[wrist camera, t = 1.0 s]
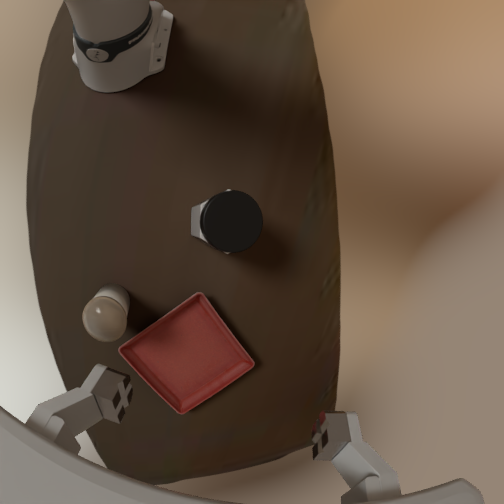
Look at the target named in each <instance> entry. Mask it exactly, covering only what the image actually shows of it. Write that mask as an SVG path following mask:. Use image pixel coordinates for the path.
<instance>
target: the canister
mask: <svg viewBox="0 0 504 504" xmlns="http://www.w3.org/2000/svg"><path fill="white" fill-rule="evenodd" d="M129 307H130V297H129V295H128V293H127V291H126V290H125V289H124V288H123V287H122V286H120V285H118V284H113V283H110V284H106V285H104V286H103V287H102V288H101V289H100V290H99V291H98V293H97V294H96V295H95V297H94V298H93V299H92V300H90V301H89V302H88V304H87V305H86V307H85V309H84V311H83V323H84V326H85V328H86V330H87V331H88V333H89V334H90V335H91V336H92V337H94V338H95V339H97V340H100V341H103V342H111V341H115V340H117V339H118V338H120V337H121V336H122V335H123V333H124V331H125V329H126V325H127V315H128V311H129Z"/></svg>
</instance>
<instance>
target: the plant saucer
mask: <svg viewBox="0 0 504 504" xmlns="http://www.w3.org/2000/svg"><path fill="white" fill-rule="evenodd" d="M118 351H119V353H120V354H121V356H122V357H123V358H124V359H125V360H126V361H127V362H128V363H129V365H130V366H131V367H132V368H133V369H134V370H135V371H136V372H137V373H138V374H139V375H140V376H141V377H142V378H143V379H144V381H145V382H146V383H147V384H148V385H149V386H150V387H151V388H152V389H153V390H154V391H155V392H156V393H157V394H158V395H159V396H160V397H161V398H162V399H164V400H165V401H166V402H167V403H168V404H169V405H170V406H171V407H172V408H173V409H174V410H175V411H176V412H177V413H179V414H184V413H186V412H188V411H189V410H191V409H192V408H194V407H196V406H197V405H199V404H200V403H202V402H203V401H205V400H207V399H208V398H210V397H211V396H213V395H214V394H216V393H217V392H219V391H220V390H222V389H223V388H225V387H226V386H227V385H229V384H230V383H232V382H233V381H235V380H236V379H237V378H239V377H240V376H242V375H243V374H244V373H246V372H247V371H249V370H250V369H251V368H253V367H254V365H255V362H254V361H253V360H252V358H251V357H250V356H249V355H248V353H247V352H246V351H245V349H244V348H243V347H242V345H241V344H240V343H239V342H238V340H237V339H236V338H235V336H234V335H233V334H232V332H231V331H230V330H229V328H228V327H227V326H226V324H225V323H224V322H223V320H222V319H221V318H220V316H219V315H218V313H217V312H216V311H215V309H214V308H213V306H212V305H211V304H210V302H209V301H208V299H207V298H206V296H205V295H204V294H203V293H201V292H197V293H196V294H194V295H193V296H191V297H190V298H188V299H187V300H186V301H184V302H183V303H181V304H180V305H179V306H177V307H176V308H174V309H173V310H172V311H170V312H169V313H167V314H166V315H164V316H163V317H162V318H160V319H159V320H157V321H156V322H154V323H153V324H151V325H150V326H149V327H147V328H146V329H144V330H143V331H142V332H140V333H139V334H137V335H136V336H134V337H133V338H132V339H130V340H129V341H127V342H126V343H124V344H123V345H122V346H120V347H119V349H118Z"/></svg>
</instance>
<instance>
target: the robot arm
mask: <svg viewBox="0 0 504 504" xmlns="http://www.w3.org/2000/svg"><path fill="white" fill-rule="evenodd" d="M64 1H65V3H66V5H67V7H68V9H69V11H70V14H71V17H72V20H73V23H74V24H73V34H74V38H73V44H74V50H75V53H74V55H73V57H72V59H73V62H74V64H75V65H76V66H77V67H78V68H79V70H80V75H81V78H82V80H83V82H84V83H85V84H86V85H87V86H88V87H89V88H91V89H93V90H95V91H99V92H117V91H121V90H124V89H127V88H129V87H131V86H133V85H135V84H137V83H138V82H140V81H141V80H142V79H144V78H145V77H147V76H148V75H152V74H155V73H158V72H160V71H162V70H163V69H164V67H165V61H166V55H167V49H168V43H169V38H170V32H171V27H172V22H173V15H172V14H171V13H169V12H168V11H166V10H164V7H163V5H161V4H160V3H158V2H156V1H154V0H64ZM157 60H160V62H157ZM130 380H131V379H130V375H128V374H125V373H122V372H119V371H117V370H114V369H111V368H109V367H106V366H103V365H101V364H97V365H96V366H95V367H94V368H93V370H92V371H91V373H90V374H89V376H88V377H87V379H86V380H85V382H84V383H83V385H82V386H81V388H78V387H77V388H75V389H73V390H71V391H68V392H66V393H64V394H62V395H59V396H57V397H55V398H53V399H50V400H48V401H45V402H43V403H41V404H38V406H37V407H36V408H35V410H34V411H33V413H32V414H31V416H30V417H29V419H28V420H27V422H26V423H25V424H24V423H23V422H21V421H20V420H18V419H17V418H16V417H14V416H13V415H11V414H10V413H9V412H7V411H6V410H5V409H3V408H2V407H1V406H0V504H240V503H233V502H225V501H219V500H213V499H208V498H202V497H198V496H192V495H188V494H184V493H180V492H175V491H172V490H168V489H165V488H161V487H158V486H154V485H151V484H148V483H145V482H142V481H139V480H136V479H133V478H130V477H128V476H125V475H122V474H120V473H117V472H114V471H112V470H110V469H107V468H104V467H102V466H100V465H98V464H95V463H93V462H91V461H89V460H87V459H85V458H83V457H81V456H78V453H79V451H80V449H81V447H80V445H79V444H78V442H77V441H76V439H75V436H76V435H78V434H80V433H81V432H83V431H85V430H86V429H88V428H89V427H91V426H92V425H94V424H96V423H97V422H99V421H100V420H102V419H103V418H105V419H108V420H111V421H114V422H116V423H119V424H120V423H121V421H122V419H123V417H124V414H125V410H124V407H126V406H128V405H129V404H130V402H131V399H132V395H133V389H132V386H131V385H130V384H129V382H130ZM319 418H320V419H318V420H316V421H315V423H314V425H313V428H312V440H313V441H314V443H315V445H314V447H313V448H312V449H313V460H329V461H330V460H331V462H332V463H333V465H334V466H335V468H336V469H337V470H338V472H339V473H340V474H341V476H342V477H343V479H344V480H345V481H346V483H347V484H348V485H349V487H350V488H351V490H349V491H348V492H346V493H345V494H344V495H342V496H341V504H484V500H483V497H482V494H481V492H480V491H479V490H478V489H477V488H476V487H475V486H473V485H472V484H471V483H470V482H468V481H467V480H465V479H463V478H459V479H455V480H453V481H450V482H447V483H444V484H441V485H438V486H435V487H431V488H428V489H424V490H421V491H417V492H413V493H409V494H405V495H401V490H400V485H399V480H398V476H397V472H396V471H395V470H394V469H393V468H392V467H391V466H390V465H389V464H388V463H387V462H386V461H385V460H384V459H383V458H382V457H381V456H380V455H379V454H378V453H377V452H376V451H375V450H374V449H373V448H372V447H371V446H370V445H369V444H368V443H367V442H363V438H362V434H361V429H360V424H359V420H358V415H357V413H356V412H344V411H322V412H321V413H320V415H319Z"/></svg>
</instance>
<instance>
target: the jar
mask: <svg viewBox="0 0 504 504" xmlns="http://www.w3.org/2000/svg"><path fill="white" fill-rule="evenodd" d="M262 225H263V218H262V213H261V210H260V208H259V206H258V204H257V203H256V201H255V200H254V199H253V198H252V197H251V196H249V195H248V194H246V193H244V192H241V191H235V190H230V189H228V190H226V191H223V192H221V193H219V194H216V195H214V196H212V197H210V198H208V199H207V200H205V201H203V202H201V203H199V204H197V205H196V206H194V207H192V213H191V235H192V236H193V237H195V238H197V239H198V240H200V241H202V242H204V243H205V244H207V245H209V246H210V247H212V248H214V249H216V250H219V251H221V252H224V253H226V254H229V253H236V252H241V251H244V250H246V249H248V248H249V247H251V246H252V245H253V244H254V243H255V242H256V240H257V239H258V237H259V235H260V233H261V230H262Z"/></svg>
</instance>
